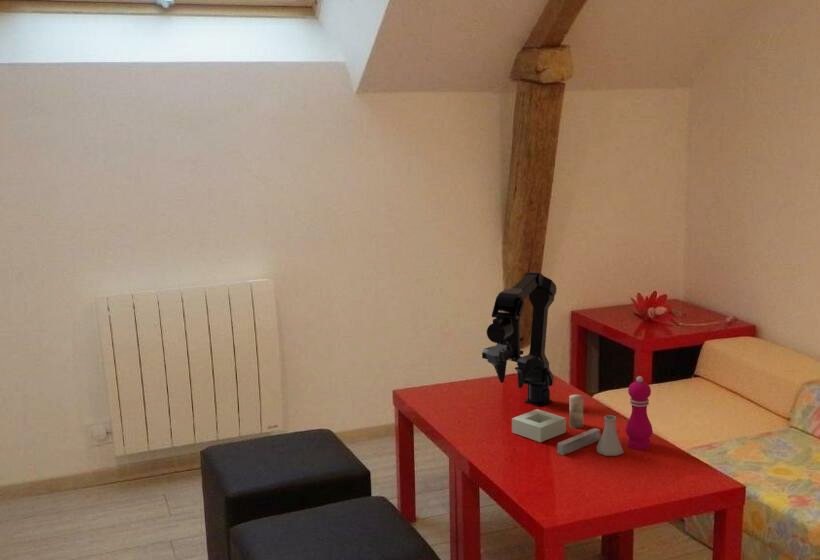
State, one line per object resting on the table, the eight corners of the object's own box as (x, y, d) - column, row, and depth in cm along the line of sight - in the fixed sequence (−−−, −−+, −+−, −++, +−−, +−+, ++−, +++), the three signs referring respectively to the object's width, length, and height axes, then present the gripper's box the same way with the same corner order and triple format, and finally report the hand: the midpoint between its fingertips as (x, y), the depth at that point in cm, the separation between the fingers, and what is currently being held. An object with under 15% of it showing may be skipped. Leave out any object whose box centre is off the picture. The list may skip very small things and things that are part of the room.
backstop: (557, 453, 243) (557, 443, 242) (594, 437, 253) (594, 427, 252) (563, 455, 241) (563, 445, 240) (600, 439, 251) (600, 429, 251)
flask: (591, 449, 245) (591, 414, 243) (614, 445, 247) (615, 411, 245) (604, 458, 238) (605, 423, 236) (628, 454, 240) (629, 419, 238)
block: (512, 432, 259) (511, 418, 258) (537, 422, 266) (537, 409, 265) (540, 442, 250) (540, 427, 250) (566, 432, 257) (565, 418, 256)
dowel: (566, 425, 263) (566, 396, 261) (575, 422, 265) (575, 393, 264) (577, 429, 260) (577, 399, 258) (586, 425, 262) (586, 396, 261)
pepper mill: (653, 451, 242) (654, 380, 238) (625, 450, 243) (626, 380, 239) (651, 441, 249) (652, 372, 245) (624, 440, 250) (625, 372, 246)
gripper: (468, 334, 263) (469, 384, 266) (515, 345, 249) (515, 398, 252) (494, 327, 270) (495, 376, 273) (541, 337, 256) (541, 389, 259)
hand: (511, 385), depth 264 cm, fingers open, 7 cm apart
